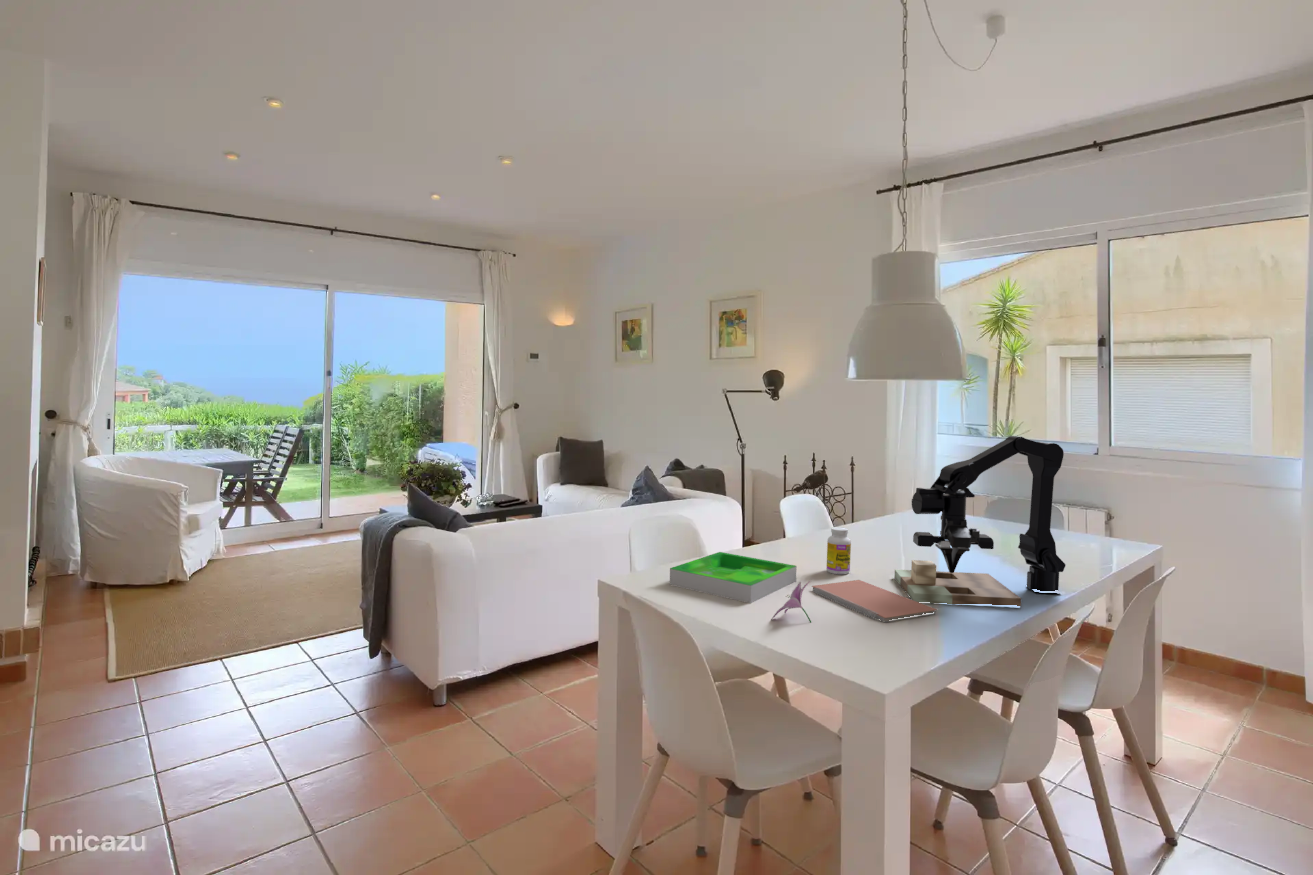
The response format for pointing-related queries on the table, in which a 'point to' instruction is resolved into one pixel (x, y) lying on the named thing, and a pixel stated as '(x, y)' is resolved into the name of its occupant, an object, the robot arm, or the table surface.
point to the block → (923, 572)
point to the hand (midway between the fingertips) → (951, 572)
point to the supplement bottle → (838, 551)
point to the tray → (733, 576)
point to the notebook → (871, 600)
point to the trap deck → (958, 589)
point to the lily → (794, 600)
